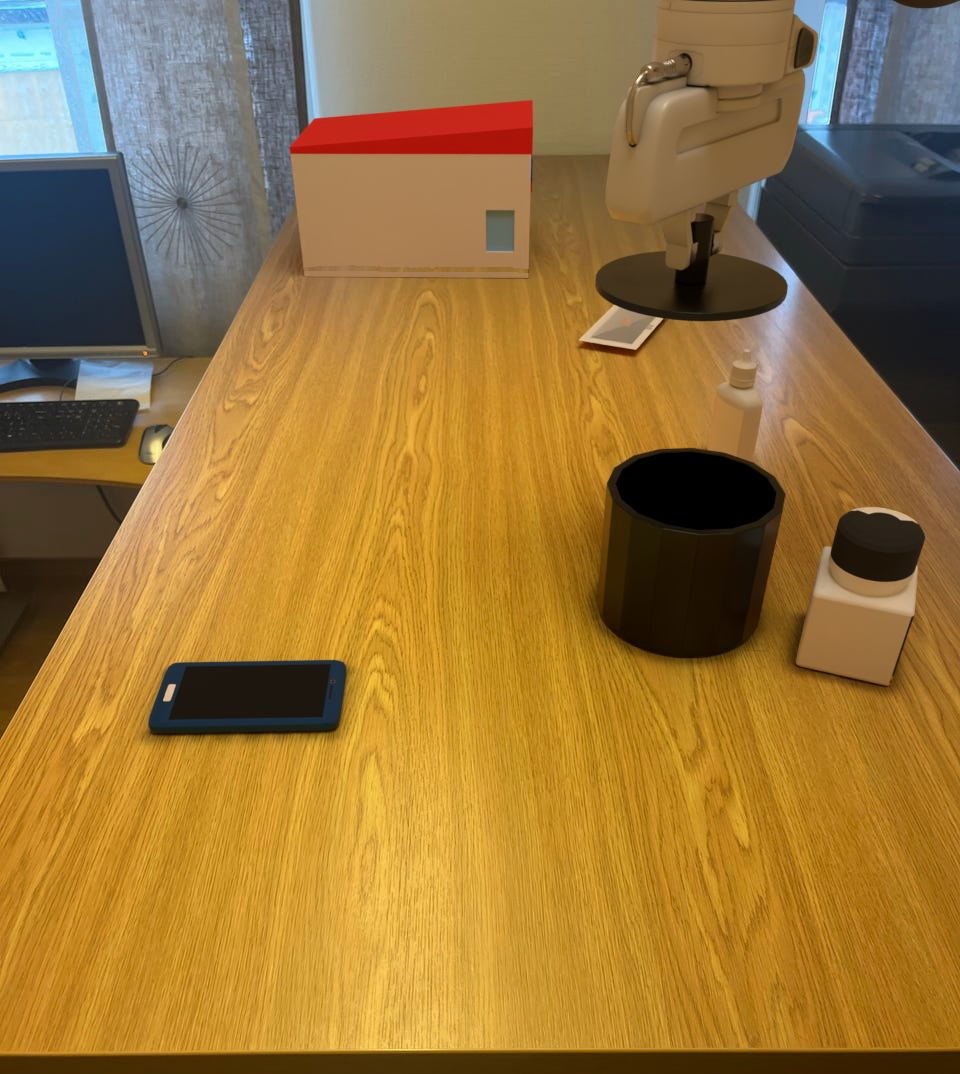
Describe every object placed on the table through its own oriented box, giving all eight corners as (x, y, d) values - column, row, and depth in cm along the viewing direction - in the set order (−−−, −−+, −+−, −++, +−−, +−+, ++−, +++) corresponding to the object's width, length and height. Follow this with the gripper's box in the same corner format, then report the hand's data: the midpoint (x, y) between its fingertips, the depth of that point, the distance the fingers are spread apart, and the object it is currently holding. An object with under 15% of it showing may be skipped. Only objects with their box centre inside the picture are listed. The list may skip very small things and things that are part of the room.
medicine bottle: (890, 688, 74) (934, 556, 67) (794, 666, 76) (827, 536, 69) (895, 635, 79) (937, 506, 72) (805, 616, 81) (837, 489, 74)
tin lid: (817, 290, 76) (833, 213, 72) (724, 345, 67) (737, 260, 63) (659, 254, 83) (666, 182, 79) (557, 299, 74) (560, 221, 71)
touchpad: (577, 348, 128) (578, 332, 126) (614, 311, 138) (615, 295, 137) (635, 357, 125) (636, 341, 124) (668, 319, 136) (670, 303, 134)
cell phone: (169, 669, 76) (168, 661, 76) (348, 666, 76) (347, 658, 76) (146, 734, 70) (144, 726, 70) (339, 731, 71) (338, 723, 70)
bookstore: (530, 278, 150) (534, 127, 137) (304, 276, 151) (287, 126, 138) (530, 238, 166) (534, 99, 153) (326, 237, 167) (312, 99, 154)
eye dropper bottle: (709, 472, 101) (727, 360, 94) (705, 447, 105) (722, 339, 98) (752, 474, 101) (773, 362, 93) (746, 449, 105) (766, 340, 98)
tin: (787, 602, 83) (815, 483, 76) (705, 680, 75) (728, 555, 68) (654, 547, 90) (668, 432, 83) (566, 612, 82) (573, 492, 75)
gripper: (677, 71, 57) (653, 307, 66) (830, 34, 69) (793, 237, 78) (589, 61, 60) (577, 287, 69) (750, 27, 72) (723, 223, 81)
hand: (693, 260), depth 73 cm, fingers closed on tin lid, 2 cm apart
